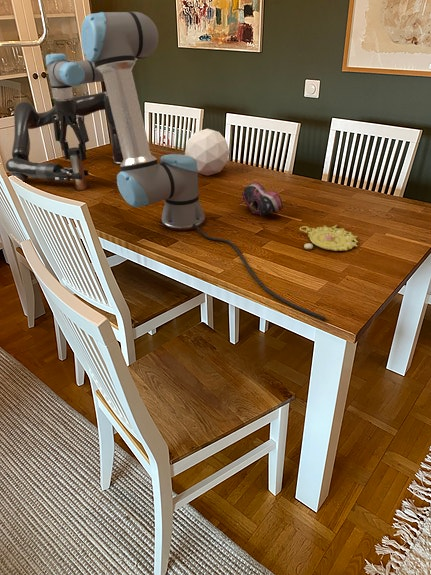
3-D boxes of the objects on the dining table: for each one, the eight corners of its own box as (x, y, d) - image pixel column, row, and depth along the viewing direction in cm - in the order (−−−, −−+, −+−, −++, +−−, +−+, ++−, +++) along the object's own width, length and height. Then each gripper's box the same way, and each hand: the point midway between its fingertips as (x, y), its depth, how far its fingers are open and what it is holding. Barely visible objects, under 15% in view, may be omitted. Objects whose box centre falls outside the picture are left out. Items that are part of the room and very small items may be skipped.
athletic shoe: (254, 181, 170) (227, 189, 167) (283, 176, 151) (253, 185, 147) (260, 210, 173) (234, 218, 170) (290, 209, 154) (261, 219, 150)
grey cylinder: (88, 186, 190) (81, 149, 182) (85, 189, 187) (78, 152, 178) (77, 186, 190) (70, 149, 182) (75, 190, 187) (67, 152, 178)
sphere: (213, 191, 200) (211, 164, 181) (179, 169, 205) (173, 141, 186) (238, 162, 205) (238, 133, 186) (203, 141, 209) (200, 111, 191)
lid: (67, 155, 178) (66, 151, 177) (68, 152, 182) (67, 148, 181) (81, 154, 179) (80, 150, 178) (81, 151, 183) (80, 146, 182)
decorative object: (343, 255, 128) (285, 234, 139) (342, 262, 130) (284, 241, 140) (372, 230, 142) (317, 213, 152) (371, 237, 143) (316, 219, 153)
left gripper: (61, 175, 197) (95, 178, 192) (41, 186, 185) (77, 189, 181) (57, 158, 193) (92, 161, 188) (37, 168, 181) (73, 171, 177)
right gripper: (91, 98, 170) (101, 158, 182) (48, 96, 175) (61, 154, 188) (80, 101, 164) (91, 163, 176) (36, 100, 169) (50, 160, 182)
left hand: (84, 175), depth 185 cm, fingers closed on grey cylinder, 4 cm apart
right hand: (75, 159), depth 182 cm, fingers open, 7 cm apart
